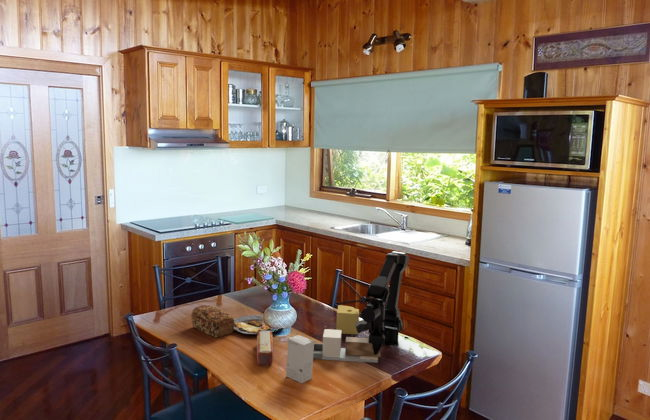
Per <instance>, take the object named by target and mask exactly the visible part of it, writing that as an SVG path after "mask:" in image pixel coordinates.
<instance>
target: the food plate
mask: <svg viewBox="0 0 650 420" xmlns="http://www.w3.org/2000/svg"><path fill="white" fill-rule="evenodd" d="M263 315H264V314H249V315H242V316H240V317H236V318H234V331H237V332H239V333H241V334H244V335H250V336H251V335H253V336H254V335H255V336H257V334H258V333H259V332H260V331H270V328H269V327H268V326H267V325H266V324H265V322H264V321H263ZM247 323H248V324H247ZM270 332H271V333H275V332H274V331H270Z"/></svg>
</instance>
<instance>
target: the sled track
mask: <svg viewBox="0 0 650 420" xmlns="http://www.w3.org/2000/svg"><path fill="white" fill-rule="evenodd" d="M341 333H342V330H336V329H328V328H327V329H326V328H325V329H324V330H323V335H322V343H320V342H319V343H316V342H314V353H313V360H327V361H330V360H331V361H342V362H344V361H345V362H362V363H375V364H377V363H378V362H379V357H375V356H358V355H345V349H346V347H342V334H341Z"/></svg>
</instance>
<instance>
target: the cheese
mask: <svg viewBox="0 0 650 420" xmlns="http://www.w3.org/2000/svg"><path fill="white" fill-rule="evenodd" d="M358 321H360V309H359V308H355V307H353V306H349V305H341V304H339V305H338V306H337V311H336V328H335V330H342V333H341V335H342V334H344V335H359V333H358V332H357V330H356V326H355V323H356V322H358Z"/></svg>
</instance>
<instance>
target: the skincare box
mask: <svg viewBox="0 0 650 420" xmlns="http://www.w3.org/2000/svg"><path fill="white" fill-rule="evenodd" d="M314 343H315V340H312V339H309V338H307V337H306V336H302V335H299V334H297V335H294V336H291V337H289V338H288V341H287V353H286V354H287V355H286V370H285V377H287V378H289V379H291V380H293V381H296V382H298V383H299V384H304V383H305V382H308V381H310V380H311V379H313V367H314V365H313V364H314V363H313V362H314V359H313V353H314Z"/></svg>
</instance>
